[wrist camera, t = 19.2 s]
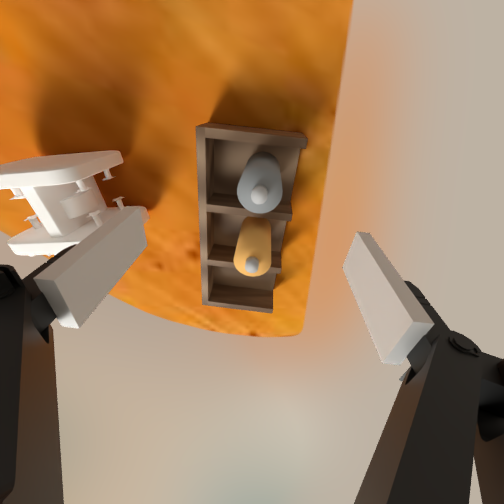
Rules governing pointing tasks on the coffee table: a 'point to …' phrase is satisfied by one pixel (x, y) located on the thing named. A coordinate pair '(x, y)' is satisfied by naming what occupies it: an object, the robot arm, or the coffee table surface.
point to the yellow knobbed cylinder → (253, 247)
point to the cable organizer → (61, 198)
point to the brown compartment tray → (239, 210)
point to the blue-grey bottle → (260, 183)
